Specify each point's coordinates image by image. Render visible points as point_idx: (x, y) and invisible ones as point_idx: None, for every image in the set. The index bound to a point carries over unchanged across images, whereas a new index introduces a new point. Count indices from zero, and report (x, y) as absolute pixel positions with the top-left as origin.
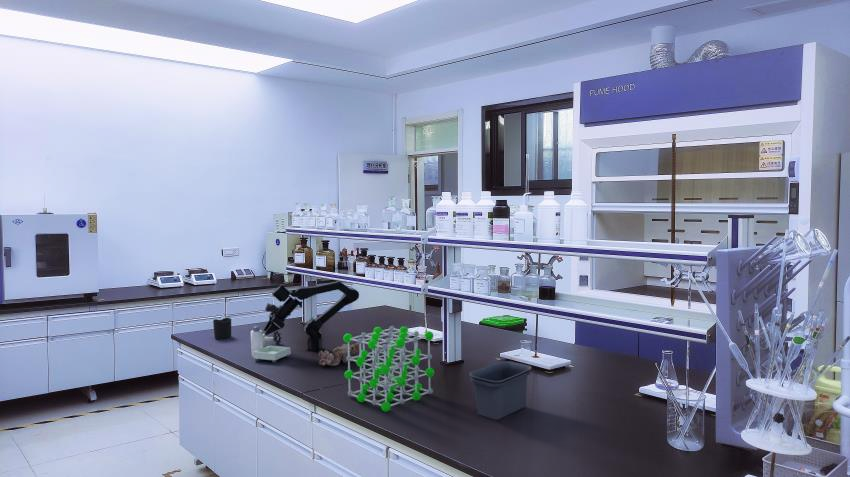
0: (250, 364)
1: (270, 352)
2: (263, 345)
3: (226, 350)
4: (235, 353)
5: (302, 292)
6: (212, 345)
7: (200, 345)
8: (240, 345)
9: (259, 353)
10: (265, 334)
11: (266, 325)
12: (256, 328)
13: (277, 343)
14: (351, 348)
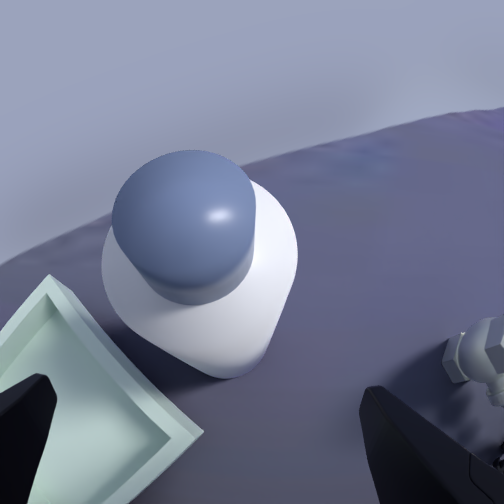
0: (39, 276)
1: (102, 422)
2: (455, 372)
3: (417, 167)
4: (344, 201)
5: None
6: (488, 137)
7: (482, 110)
8: (500, 235)
9: (17, 317)
10: (41, 384)
11: (408, 448)
12: (121, 223)
13: (501, 447)
14: None
